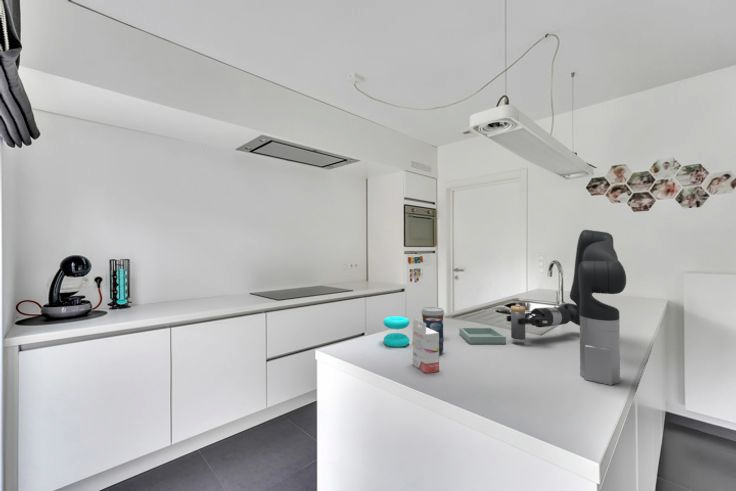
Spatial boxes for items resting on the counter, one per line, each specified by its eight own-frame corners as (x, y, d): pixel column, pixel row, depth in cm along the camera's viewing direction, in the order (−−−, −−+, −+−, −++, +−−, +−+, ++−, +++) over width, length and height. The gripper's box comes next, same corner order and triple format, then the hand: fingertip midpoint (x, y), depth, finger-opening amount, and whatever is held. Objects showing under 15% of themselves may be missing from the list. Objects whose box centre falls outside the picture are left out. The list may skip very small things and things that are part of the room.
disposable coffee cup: (417, 336, 134) (417, 307, 134) (437, 334, 137) (437, 306, 137) (428, 342, 125) (427, 312, 125) (449, 340, 128) (449, 310, 128)
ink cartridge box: (440, 371, 96) (440, 322, 96) (425, 373, 94) (425, 324, 94) (425, 361, 104) (425, 316, 104) (411, 363, 102) (411, 318, 102)
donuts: (390, 314, 130) (413, 317, 125) (390, 339, 130) (413, 342, 125) (378, 319, 122) (402, 322, 116) (378, 345, 121) (402, 349, 116)
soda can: (442, 356, 108) (442, 321, 108) (422, 354, 111) (421, 320, 111) (444, 350, 115) (444, 317, 115) (425, 348, 117) (424, 316, 117)
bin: (506, 344, 122) (506, 336, 122) (469, 344, 122) (469, 336, 122) (492, 334, 136) (492, 327, 136) (459, 334, 136) (459, 327, 136)
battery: (523, 340, 120) (523, 306, 120) (509, 338, 123) (509, 304, 123) (526, 337, 123) (526, 304, 124) (513, 335, 127) (513, 303, 127)
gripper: (531, 304, 135) (499, 307, 129) (562, 310, 121) (527, 313, 116) (531, 322, 135) (499, 325, 129) (562, 330, 121) (527, 334, 115)
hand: (512, 320), depth 122 cm, fingers closed on battery, 5 cm apart
